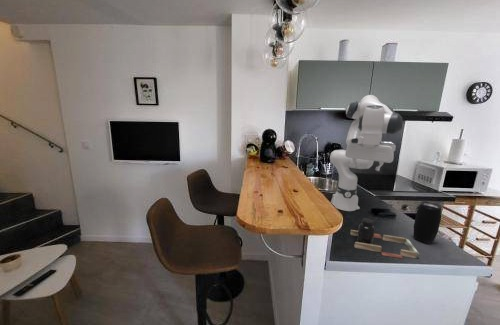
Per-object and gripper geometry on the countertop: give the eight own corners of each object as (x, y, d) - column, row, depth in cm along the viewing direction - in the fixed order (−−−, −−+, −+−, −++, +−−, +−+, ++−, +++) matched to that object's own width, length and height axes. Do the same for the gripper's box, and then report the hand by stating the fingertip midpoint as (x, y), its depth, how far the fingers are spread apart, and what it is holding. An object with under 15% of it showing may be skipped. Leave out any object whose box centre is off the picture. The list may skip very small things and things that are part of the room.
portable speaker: (408, 233, 112) (415, 199, 108) (429, 237, 109) (437, 202, 105) (415, 242, 104) (423, 206, 100) (438, 246, 101) (447, 209, 97)
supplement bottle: (358, 236, 108) (361, 215, 105) (373, 242, 104) (377, 220, 101) (355, 242, 103) (358, 220, 100) (370, 248, 99) (374, 225, 96)
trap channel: (349, 230, 114) (349, 226, 114) (403, 238, 107) (404, 234, 107) (355, 250, 97) (356, 245, 97) (420, 262, 90) (422, 257, 90)
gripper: (397, 142, 94) (393, 171, 97) (350, 138, 108) (347, 164, 110) (395, 142, 89) (390, 174, 92) (345, 139, 103) (342, 166, 106)
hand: (366, 169), depth 101 cm, fingers open, 8 cm apart
